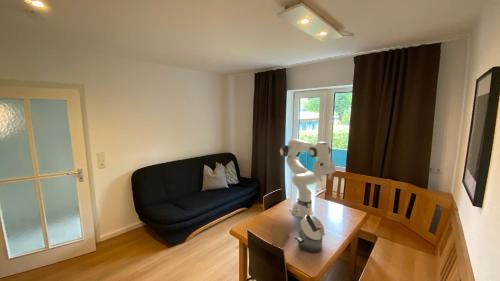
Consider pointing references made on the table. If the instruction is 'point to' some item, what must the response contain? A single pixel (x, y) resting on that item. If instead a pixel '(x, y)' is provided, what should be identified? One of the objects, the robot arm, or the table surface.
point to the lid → (312, 227)
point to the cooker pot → (308, 243)
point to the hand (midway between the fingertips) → (325, 180)
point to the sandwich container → (279, 235)
